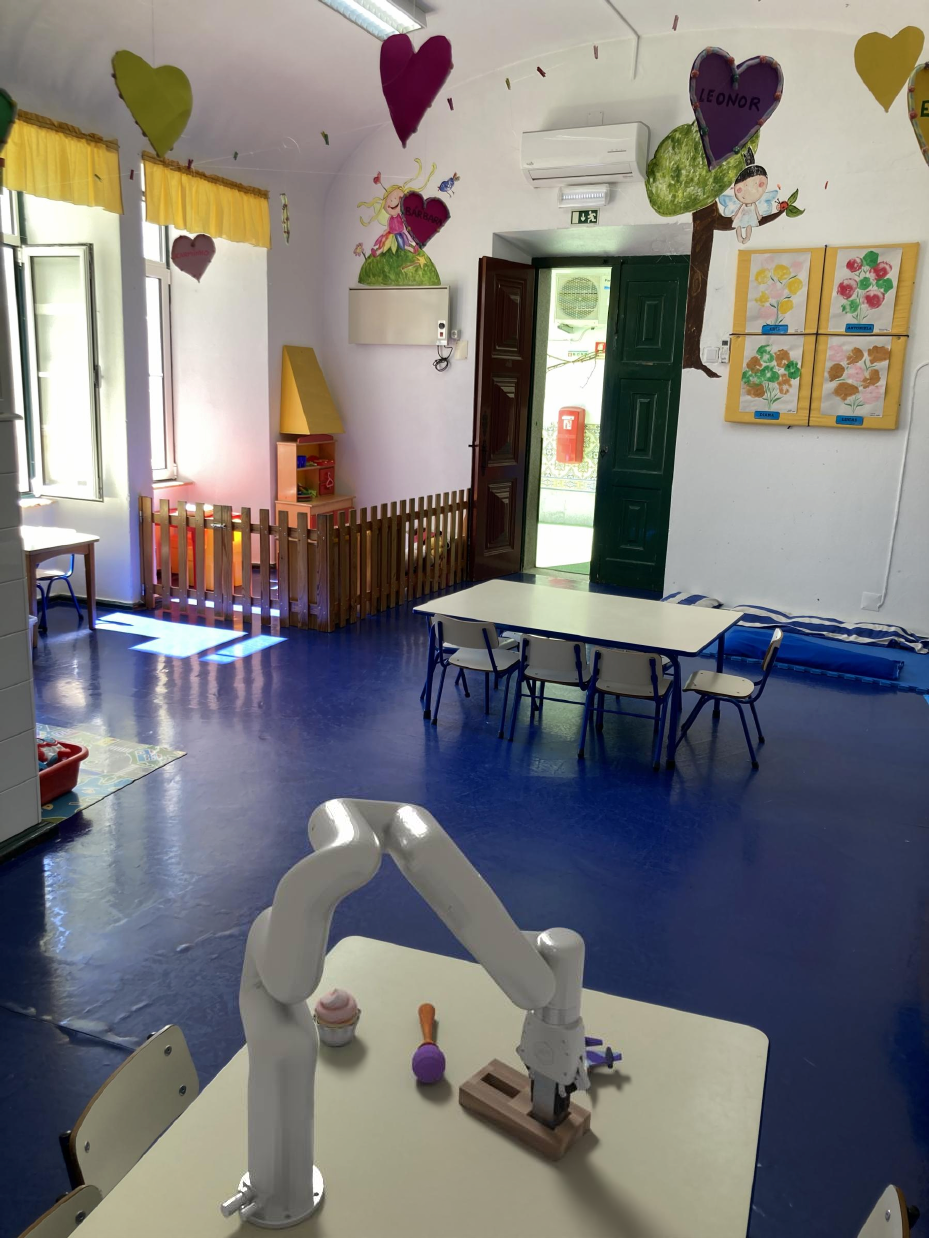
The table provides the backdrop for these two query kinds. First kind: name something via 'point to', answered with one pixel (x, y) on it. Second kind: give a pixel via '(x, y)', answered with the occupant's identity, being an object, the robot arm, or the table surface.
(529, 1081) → the socket block
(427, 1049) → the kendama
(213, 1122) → the table surface
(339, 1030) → the cupcake
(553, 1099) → the square peg
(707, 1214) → the table surface
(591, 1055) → the toy airplane
